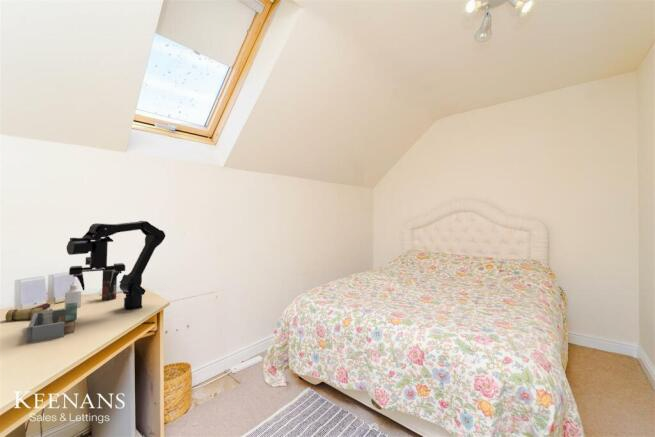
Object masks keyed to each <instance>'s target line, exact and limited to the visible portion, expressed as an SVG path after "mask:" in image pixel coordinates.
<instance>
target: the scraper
mask: <svg viewBox="0 0 655 437" xmlns="http://www.w3.org/2000/svg"><path fill="white" fill-rule="evenodd" d="M77 315H78V308H77V303H69V304H66V316H60V317H59V320H58V323H59V322H64V335H67V334H72V333H74V332H75V326H76V320H77V318H78V316H77Z"/></svg>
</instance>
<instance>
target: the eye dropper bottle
mask: <svg viewBox="0 0 655 437" xmlns="http://www.w3.org/2000/svg"><path fill="white" fill-rule="evenodd" d="M69 303H77V309H78V308H80V307H81V306H82V290H80V289H78V284H77V283H76V282H75V281H72V284H70V286H69V290H67V291H66V292H64V309H66V304H69Z"/></svg>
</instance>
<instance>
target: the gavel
mask: <svg viewBox="0 0 655 437" xmlns="http://www.w3.org/2000/svg"><path fill="white" fill-rule="evenodd" d="M51 305H52V304H51V303H48V302H46V303H43V304H40V305H38V306H35V307H33V308H30V309H29V308H28V309H9V310H8V311H7V312H6V314H5V317H4V318H5V320H6V322H14V321H22V320H23V321H24V320H31V319H32V317H33V314H34V313H36V312H43V310H46V309H47V310H48V309H50V307H51Z"/></svg>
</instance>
